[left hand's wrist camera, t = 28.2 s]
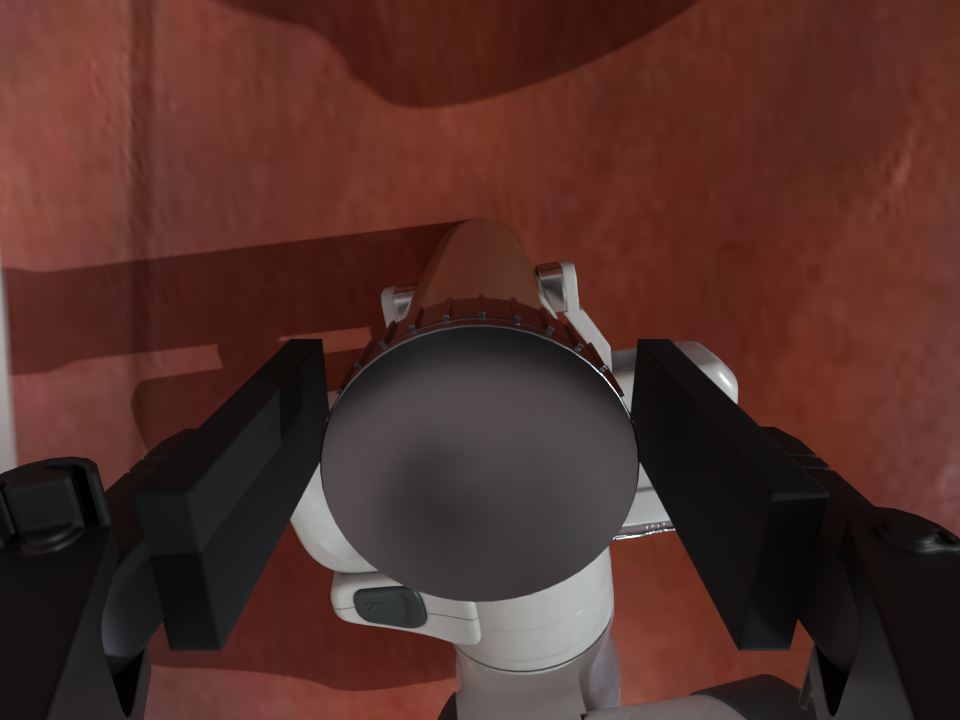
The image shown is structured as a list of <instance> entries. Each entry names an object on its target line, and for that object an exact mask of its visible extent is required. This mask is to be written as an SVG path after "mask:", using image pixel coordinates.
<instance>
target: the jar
mask: <svg viewBox="0 0 960 720" xmlns="http://www.w3.org/2000/svg"><path fill="white" fill-rule="evenodd" d="M479 294H484V298H494V299H504V300H509V301H510V298H511V297H513V298H516V300H517V303H522V304H525V305H528V306H530V307H533V308H536V309H538V310H540V308H541V307H544V308H546V310H547V312H548V314H549V315H551V316H552V317H554V318H556V319H558V318H557V316H556V314H555V311H554V309H553V307H552V305H551V303H550V301H549V299H548V297H547V295H546V293H545V291H544V289H543V287H542V284H541V282H540V280H539V278H538V276H537V274H536V272H535V270H534V268H533V266H532V264H531V262H530V260H529V257H528V255H527V253H526V251H525V249H524V247H523V245H522V243H521V242H520V240H519V238H518V237H517V236H516V235H515V234H514V233H513V232H512V231H511V230H510V229H509V228H507V227H506V226H504V225H502V224H500V223H498V222H495V221H492V220H487V219H473V220H468V221H465V222H462V223H460V224H458V225H456V226H454V227H453V228H451V229H450V230H449V231H448V232H447V233H446V234H445V235H444V236H443V237H442V238H441V240H440V241H439V243H438V245H437V247H436V249H435V251H434V253H433V255H432V257H431V259H430V261H429V263H428V265H427V268H426V270H425V272H424V274H423V276H422V278H421V280H420V282H419V284H418V286H417V288H416V290H415V292H414V294H413V296H412V299H411V301H410V303H409V305H408V307H407V309H406V311H405V313H404V315H403V317H402V319H404V318H405V317H407V316H409V315H410V314H412V313H415V310H416V308H417V307H418V306H421V305H422V307H423V309H424V308H426V307H428V306H432V305H435V304H439V303H442V302H445V301H446V299H447V297H451V296H452V298H453V300H457V299H464V298H479ZM402 319H401V320H402Z"/></svg>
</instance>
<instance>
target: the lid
mask: <svg viewBox="0 0 960 720" xmlns="http://www.w3.org/2000/svg"><path fill="white" fill-rule="evenodd" d="M336 393H337V394H339V396H338V398H337V400H336V401H335V403H334V405H333V406H332V408H331V410H330V411H329V413H328V415H327V417H326V420H325V421H326V422H327V423H326V427H325V430H324V433H323V437H322V444H321V450H320V475H321V481H322V488H323V492H324V495H325V499H326V502H327V505H328V508H329V510H330V512H331V515H332V517H333V519H334V521H335V523H336V525H337V526H338V528H339V529H340V531H341V533H342V534H343V536H344V537H345V539H346V540H347V541H348V542H349V544H350V545H351V546H352V547H353V548H354V549H355V551H356V552H357V553H358V554H359V555H360V556H361V557H363V558H364V559H365V560H366V561H367V562H368V563H369V564H370V565H371V566H373V567H374V568H376V569H377V570H378V571H380V572H381V573H383V574H384V575H385V576H387V577H389V578H391V579H392V580H394V581H396V582H398V583H400V584H401V585H404V586H406V587H408V588H411V589H413V590H416V591H418V592H421V593H424V594H428V595H431V596H434V597H438V598H443V599H449V600H454V601H465V602H496V601H504V600H512V599H516V598H521V597H525V596H529V595H533V594H535V593H538V592H541V591H544V590H547V589H549V588H551V587H553V586H556V585H558V584H560V583H562V582H564V581H566V580H567V579H569V578H571V577H572V576H574V575H575V574H577V573H579V572H580V571H582V570H583V569H584V568H585V567H587V566H588V565H589V564H590V563H592V562H593V561H594V560H595V559H596V558H597V557H598V556H599V555H600V554H601V553H602V552H603V551H604V550H605V549H606V548H607V547H608V546H609V544H610V543H611V542H612V540H613V539H614V538H615V536H616V535H617V534H618V533H619V531H620V529H621V527H622V525H623V524H624V522H625V520H626V518H627V517H628V514H629V512H630V509H631V506H632V504H633V501H634V498H635V494H636V490H637V485H638V480H639V468H640V458H639V444H638V440H637V436H636V431H635V427H634V424H635V422H634V419H633V417H632V415H631V414H630V412H629V410H628V409H627V407H626V405H625V403H624V402H623V400H622V398H621V397H623V396H625V394H624V393H623V391H622V389H621V387H620V386H619V384H618V382H617V381H616V379H615V378H614V376H613V374H612V373H611V371H610V369H609V368H608V366H607V365H605V364H604V362H603V360H602V359H601V357H600V355H599V354H598V352H597V350H596V349H595V347H594V345H593V344H592V343H591V342H589V343H588V344H587V343H586V342H585V341H584V340H583V339H582V338H581V337H580V336H579V335H577V333H576V331H575V329H574V327H573V325H572V324H571V323H569V322H567V324H566V325H565V324H564V323H562V322H561V321H559V320H558V319H556V318H554V317H552V316H551V315H549V314H548V312H547V310H546V308H544V307H541V308H540V310H538V309H536V308H533V307H530V306H528V305H525V304H522V303H517V300H516V298H513V297H511V298H510V301H509V300H504V299H494V298H484V294H479V298H464V299H457V300H453V298H452V296H451V297H447V299H446V301H445V302H442V303H439V304H435V305H432V306H428V307H426V308H424V309H423V307H422V305H421V306H418V307H417V308H416V310H415V313H412V314H410V315H409V316H407V317H405V318H404V319H402V320H400V321H399V322H397V323H396V322H395V320H393V321H392V322H390V324H389V326H388V327H387V329H386V331H385V332H384V333H383V334H382V335H381V336H380V337H379V338H378V339H377V340H376V341H375V342H374V341H373V340H370V341H369V342H368V344H367V346H366V347H365V349H364V351H363V352H362V354H361V356H360V357H359V359H358V361H357V362H356V363H354V364H353V365H352V367H351V368H350V370H349V372H348V373H347V375H346V377H345V378H344V380H343V382H342V383H341V385H340V386H339V388H338V390H337V392H336Z"/></svg>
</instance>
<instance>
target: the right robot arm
mask: <svg viewBox="0 0 960 720" xmlns="http://www.w3.org/2000/svg"><path fill="white" fill-rule="evenodd" d="M535 272H536V274H537V276H538V278H539V280H540V282H541V284H542V287H543V289H544V291H545V293H546V295H547V297H548V299H549V301H550V303H551V305H552V307H553V309H554V311H555V313H559V312H563V313H564V314H565V316H566V317H567V318H568V320H569V321H570V322H571V323H572V325H573V326H574V327H575V329H576V330H577V331H578V333H579V334H580V335H581V336H580V335H579V336H580V337H581V338H582V339H583V340H584V341H585V342H586V343H587V344H588V343H589V342H591V343H592V344H593V345H594V347H595V349H596V350H597V352H598V354H599V355H600V357H601V359H602V360H603V362H604V364H605V365H607V366H608V368H609V369H610V371H611V373H612V374H613V376H614V378H615V379H616V381H617V382H618V384H619V386H620V387H621V389H622V391H623V393H624V394H625V396H623V397H621V398H622V400H623V402H624V403H625V405H626V407H627V409H628V410H629V412H630V411H631V402H632V392H633V382H634V373H635V363H636V354H637V348H632V349H625V350H618V351H611V350H610V346H609V344H608V343H607V341H606V340H605V338H604V337H603V335H602V334H601V332H600V331H599V330H598V328H597V327H596V326H595V324H594V323H593V322H592V320H591V319H590V318H589V316H588V315H587V314H586V312H585V311H584V310H583V308H582V307H581V306H580V304H579V301H578V290H577V280H576V272H575V268H574V264H573V263H572V262H571V261H570V260H564V261H557V262H552V263H546V264H540V265H535ZM418 284H419V283H416V284H408V285H401V286H393V287H387V288H385V289H384V290H383V292H382V293H381V302H382V309H383V313H384V318H385V322H386V327H388V326H389V324H390V322H392V321H393V320H395V322H396V323H397V322H399V321H400V320H401V319H402V317H403V315H404V313H405V311H406V309H407V307H408V305H409V303H410V301H411V299H412V296H413V294H414V292H415V290H416V288H417V286H418ZM674 344H675V345H676V346H677V347H678V348H679V349H680V350H681V351H682V352H683V353H684V354H685V355H686V356H687V357H688V358H689V359H690V360H691V361H692V362H693V363H694V364H696V365H697V366H698V367H699V368H700V369H701V370H702V371H703V372H704V373H705V374H706V375H707V376H708V377H709V378H710V379H711V380H712V381H713V382H714V383H715V384H716V385H717V386H718V387H719V388H720V389H721V390H723V391H724V392H725V393H726V394H727V395H728V396H729V397H730V398H731V399H732V400H733V401H734V402H735V403H736V404H737V401H738V384H737V381H736V378H735V376H734V374H733V373H732V371H731V370H730V369H729V368H728V367H727V366H726V365H725V364H724V363H723V362H722V361H721V360H720V359H719V358H718V357H717V356H716V355H715V354H713V353H712V352H711V351H709V350H708V349H706V348H705V347H704V346H702V345H701V344H699V343H697V342H695V341H681V342H674ZM336 392H337V391H331V392H328V402H329V411H330V410H331V408H332V406H333V405H334V403H335V401H336V400H337V398H338V396H339V394H337V393H336ZM290 521H291V523H292V526H293V528H294V530H295V532H296V534H297V536H298V538H299V540H300V541H301V543H302V545H303V546H304V548H305V549H306V550H307V552H308V553H309V554H310V555H311V556H312V557H313V558H314V559H315V560H316V561H317V562H318V563H320V564H321V565H323V566H325V567H327V568H329V569H332V570H335V571H334V576H333V582H332V587H331V602H332V606H333V608H334V611H335V613H336V614H337V615H338V616H339V617H340V618H341V619H343V620H345V621H348V622H351V623H357V624H364V625H372V626H379V627H386V628H393V629H399V630H405V631H410V632H415V633H420V634H424V635H428V636H432V637H436V638H439V639H442V640H446V641H449V642H452V644H453V646H454V647H455V649H456V651H457V658H456V679H457V687H458V692H457V693H456V692H454V693H453V694H452V695H451V696H450V698H449V699H448V701H447V702H446V704H445V706H444V708H443V709H442V711H441V713H440V715H439V718H438V720H817V716H816V710H815V704H814V698H813V696H812V697H810V700H809V704H808V707H807V710H804V709H801V708H798V703H799V696H800V692H801V689H799V688H797V687H795V686H793V685H791V684H789V683H787V682H785V681H783V680H782V679H780V678H778V677H775V676H772V675H768V674H761V675H757V676H753V677H749V678H745V679H742V680H738V681H734V682H730V683H726V684H722V685H718V686H715V687H711V688H707V689H703V690H699V691H696V692H693V693H692V694H691V695H690V696H686V697H679V698H673V699H666V700H659V701H653V702H646V703H639V704H632V705H626V706H622V699H621V676H620V663H619V657H618V652H617V648H616V644H615V642H614V639H613V637H612V635H611V633H610V628H611V624H612V620H613V614H614V594H613V583H612V571H611V560H610V550H609V546H608V547H607V548H606V549H605V550H604V551H603V552H602V553H601V554H600V555H599V556H598V557H597V558H596V559H595V560H594V561H593V562H592V563H590V564H589V565H588V566H587V567H585V568H584V569H583V570H582V571H580V572H579V573H577V574H575V575H574V576H572V577H571V578H569V579H567V580H566V581H564V582H562V583H560V584H558V585H556V586H553V587H551V588H549V589H547V590H544V591H541V592H538V593H535V594H533V595H529V596H525V597H521V598H516V599H512V600H504V601H496V602H465V601H454V600H449V599H443V598H438V597H434V596H431V595H428V594H424V593H421V592H418V591H416V590H413V589H411V588H408V587H406V586H404V585H401V584H400V583H398V582H396V581H394V580H392V579H391V578H389V577H387V576H385V575H384V574H383V573H381V572H380V571H378V570H377V569H376V568H374V567H373V566H371V565H370V564H369V563H368V562H367V561H366V560H365V559H364V558H363V557H361V556H360V555H359V554H358V553H357V552H356V551H355V549H354V548H353V547H352V546H351V545H350V544H349V542H348V541H347V540H346V539H345V537H344V536H343V534H342V533H341V531H340V529H339V528H338V526H337V525H336V523H335V521H334V519H333V517H332V515H331V512H330V510H329V508H328V505H327V502H326V499H325V495H324V492H323V488H322V481H321V475H320V463H319V465H318V467H317V469H316V471H315V473H314V475H313V477H312V478H311V480H310V482H309V484H308V486H307V488H306V490H305V492H304V494H303V496H302V498H301V499H300V501H299V503H298V505H297V507H296V509H295V511H294V513H293V515H292V517H291V519H290ZM664 531H665V532H669V531H674V532H676V530H675V528H674V526H673V524H672V522H671V520H670V519H669V517H668V515H667V513H666V511H665V509H664V507H663V505H662V503H661V501H660V499H659V498H658V496H657V494H656V492H655V490H654V488H653V486H652V484H651V482H650V480H649V478H648V477H647V475H646V473H645V471H644V469H643V467H642V465H641V463H640V468H639V480H638V485H637V490H636V494H635V498H634V501H633V504H632V506H631V509H630V512H629V514H628V517H627V518H626V520H625V522H624V524H623V525H622V527H621V529H620V531H619V533H618V534H617V535H616V536H615V538H614V539H613V540H612V541H614V540H622V539H630V538H638V537H644V536H648V535H652V534H653V533H654V534H656V533H659V532H660V533H662V532H664Z"/></svg>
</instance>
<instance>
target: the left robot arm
mask: <svg viewBox="0 0 960 720" xmlns="http://www.w3.org/2000/svg"><path fill="white" fill-rule="evenodd" d="M328 413H329V402H328V392H327V382H326V373H325V363H324V354H323V344H322V339H290V340H289V341H288V342H287V343H286V344H285V345H284V346H283V347H282V348H281V349H280V350H279V351H278V352H277V353H276V354H275V355H274V356H273V357H272V358H271V359H270V360H269V361H268V362H267V363H266V364H264V365H263V366H262V367H261V368H260V369H259V370H258V371H257V372H256V373H255V374H254V375H253V376H252V377H251V378H250V379H249V380H248V381H247V382H246V383H245V384H244V385H243V386H242V387H241V388H240V389H239V390H237V391H236V392H235V393H234V394H233V395H232V396H231V397H230V398H229V399H228V400H227V401H226V402H225V403H224V404H223V405H222V406H221V407H220V408H219V409H218V410H217V411H216V412H215V413H214V414H213V415H212V416H210V417H209V418H208V419H207V420H206V421H205V422H204V423H203V424H202V425H201V426H200V427H199V428H198V429H185V430H183V431H181V432H179V433H177V434H175V435H173V436H171V437H169V438H167V439H165V440H163V441H161V442H160V443H159V444H158V445H157V446H156V447H155V448H154V449H152V450H151V451H150V452H149V453H148V454H147V455H146V456H145V457H144V460H140V461H139V462H138V463H137V464H136V465H134V466H133V467H132V468H131V469H130V473H126V474H124V475H123V476H122V477H121V478H120V479H119V480H118V481H117V482H115V483H114V484H113V485H112V486H111V487H110V488H109V489H108V490H106V491H105V492H104V489H103V485H102V482H101V478H100V474H99V471H98V467H97V464H96V463H94V462H93V461H91V460H90V459H88V458H80V457H61V458H51V459H46V460H42V461H38V462H33V463H29V464H26V465H23V466H20V467H17V468H15V469H12V470H9V471H6V472H4V473H2V474H0V720H143V718H144V712H145V706H146V699H147V693H148V687H149V681H150V675H151V662H150V656H149V652H148V648H147V645H146V644H147V643H148V641H149V640H150V638H151V637H152V635H153V634H154V632H155V631H156V629H157V628H158V627H159V625H160V624H161V622H162V621H163V623H164V627H165V631H166V635H167V638H168V642H169V646H170V650H222V648H223V646H224V644H225V643H226V641H227V639H228V637H229V635H230V633H231V631H232V629H233V627H234V625H235V623H236V622H237V620H238V618H239V616H240V614H241V612H242V610H243V608H244V606H245V604H246V602H247V601H248V599H249V597H250V595H251V593H252V591H253V589H254V587H255V585H256V583H257V581H258V580H259V578H260V576H261V574H262V572H263V570H264V568H265V566H266V564H267V562H268V560H269V559H270V557H271V555H272V553H273V551H274V549H275V547H276V545H277V543H278V541H279V539H280V538H281V536H282V534H283V532H284V530H285V528H286V526H287V524H288V522H289V520H290V519H291V517H292V515H293V513H294V511H295V509H296V507H297V505H298V503H299V501H300V499H301V498H302V496H303V494H304V492H305V490H306V488H307V486H308V484H309V482H310V480H311V478H312V477H313V475H314V473H315V471H316V469H317V467H318V465H319V463H320V450H321V444H322V437H323V433H324V430H325V427H326V423H327V422H326V421H325V420H326V417H327V415H328ZM630 414H631V415H632V417H633V419H634V422H635V424H634V427H635V431H636V436H637V440H638V444H639V458H640V463H641V465H642V467H643V469H644V471H645V473H646V475H647V477H648V478H649V480H650V482H651V484H652V486H653V488H654V490H655V492H656V494H657V496H658V498H659V499H660V501H661V503H662V505H663V507H664V509H665V511H666V513H667V515H668V517H669V519H670V520H671V522H672V524H673V526H674V528H675V530H676V532H677V534H678V536H679V538H680V539H681V541H682V543H683V545H684V547H685V549H686V551H687V553H688V555H689V557H690V559H691V560H692V562H693V564H694V566H695V568H696V570H697V572H698V574H699V576H700V578H701V580H702V581H703V583H704V585H705V587H706V589H707V591H708V593H709V595H710V597H711V599H712V601H713V602H714V604H715V606H716V608H717V610H718V612H719V614H720V616H721V618H722V620H723V622H724V623H725V625H726V627H727V629H728V631H729V633H730V635H731V637H732V639H733V641H734V643H735V644H736V646H737V648H738V650H790V646H791V642H792V638H793V635H794V631H795V627H796V623H797V619H799V621H800V622H801V624H802V625H803V626H804V628H805V629H806V631H807V632H808V634H809V635H810V637H811V638H812V639H813V641H814V645H813V648H812V652H811V656H810V659H809V663H808V667H807V670H806V674H805V677H804V681H803V685H802V688H801V692H800V696H799V703H798V708H801V709H804V710H807V707H808V704H809V700H810V697H812V696H813V698H814V704H815V710H816V716H817V720H960V539H959V538H958V537H957V536H956V535H954V534H953V533H951V532H950V531H948V530H946V529H945V528H943V527H942V526H940V525H939V524H936V523H934V522H932V521H929V520H927V519H925V518H923V517H920V516H918V515H915V514H912V513H908V512H904V511H901V510H897V509H892V508H883V507H875V506H874V505H872V504H871V503H870V502H869V501H868V500H867V499H866V498H865V497H863V496H862V495H861V494H860V493H859V492H858V491H857V490H856V489H854V488H853V487H852V486H851V485H850V484H849V483H848V482H846V481H845V480H844V479H843V478H842V477H841V476H840V475H839V474H837V473H836V472H835V471H831V469H830V468H831V467H830V466H828V465H827V464H826V463H825V462H824V461H823V460H822V459H821V458H817V457H816V454H815V453H814V452H813V451H811V450H810V449H809V448H808V447H807V446H806V445H805V444H804V443H802V442H801V441H800V440H799V439H797V438H795V437H793V436H791V435H789V434H787V433H785V432H783V431H781V430H779V429H777V428H775V427H760V426H759V425H758V424H757V423H756V422H755V421H754V420H753V419H752V418H751V417H750V416H748V415H747V414H746V413H745V412H744V411H743V410H742V409H741V408H740V407H739V406H738V405H737V404H736V403H735V402H734V401H733V400H732V399H731V398H730V397H729V396H728V395H727V394H726V393H725V392H724V391H723V390H721V389H720V388H719V387H718V386H717V385H716V384H715V383H714V382H713V381H712V380H711V379H710V378H709V377H708V376H707V375H706V374H705V373H704V372H703V371H702V370H701V369H700V368H699V367H698V366H697V365H696V364H694V363H693V362H692V361H691V360H690V359H689V358H688V357H687V356H686V355H685V354H684V353H683V352H682V351H681V350H680V349H679V348H678V347H677V346H676V345H675V344H674V343H673V342H672V341H671V340H670V339H638V344H637V354H636V363H635V373H634V382H633V392H632V402H631V411H630Z"/></svg>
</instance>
